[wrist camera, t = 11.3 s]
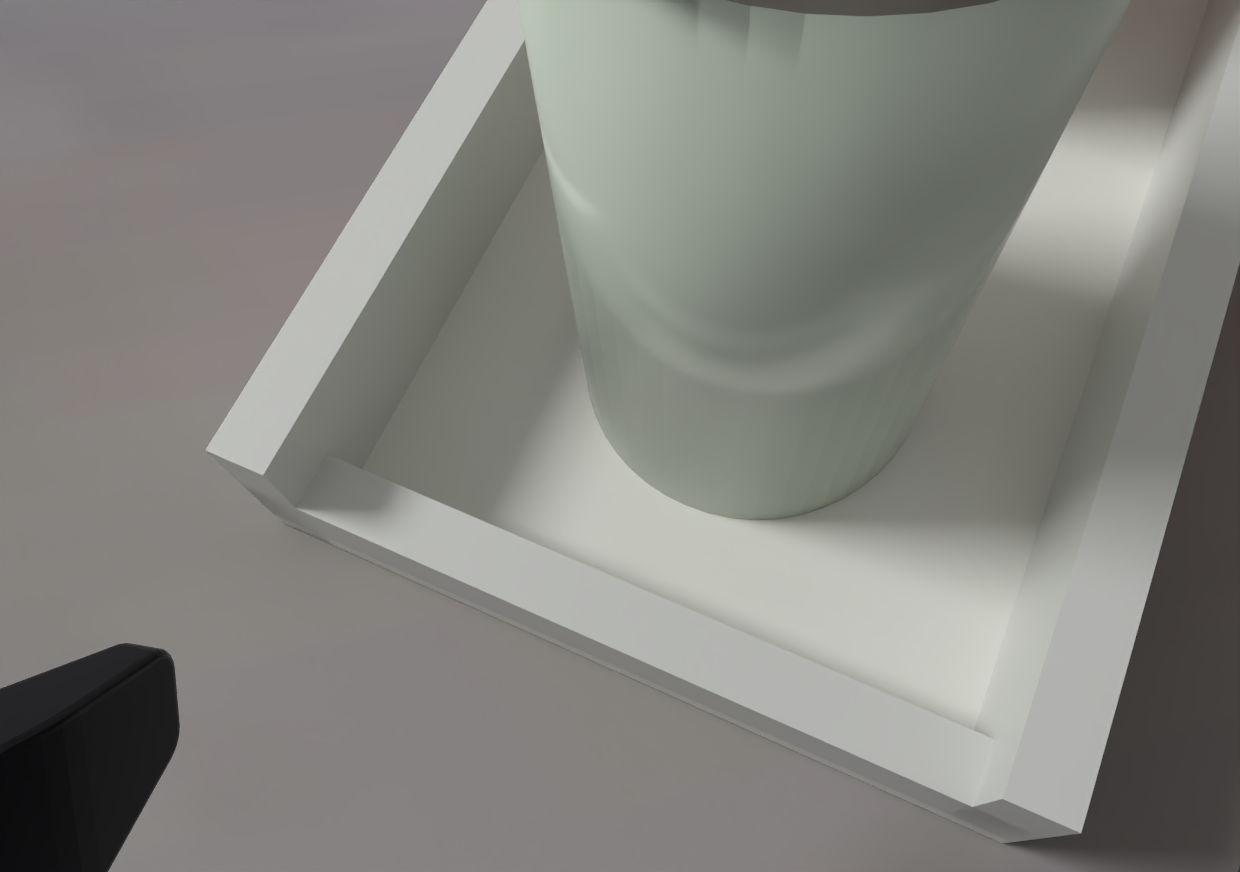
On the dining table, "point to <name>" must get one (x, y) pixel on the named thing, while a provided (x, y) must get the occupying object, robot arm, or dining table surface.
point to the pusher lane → (819, 540)
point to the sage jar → (789, 216)
